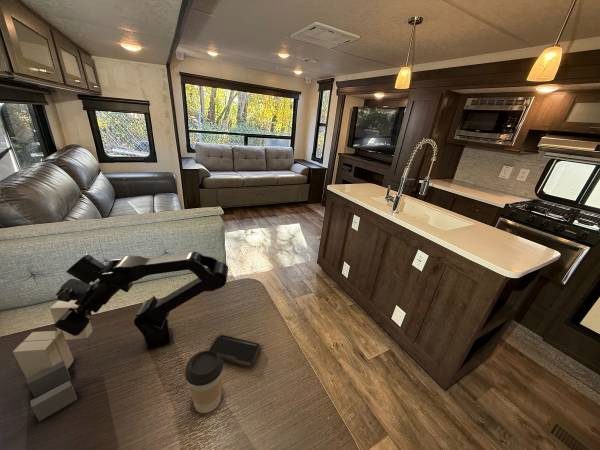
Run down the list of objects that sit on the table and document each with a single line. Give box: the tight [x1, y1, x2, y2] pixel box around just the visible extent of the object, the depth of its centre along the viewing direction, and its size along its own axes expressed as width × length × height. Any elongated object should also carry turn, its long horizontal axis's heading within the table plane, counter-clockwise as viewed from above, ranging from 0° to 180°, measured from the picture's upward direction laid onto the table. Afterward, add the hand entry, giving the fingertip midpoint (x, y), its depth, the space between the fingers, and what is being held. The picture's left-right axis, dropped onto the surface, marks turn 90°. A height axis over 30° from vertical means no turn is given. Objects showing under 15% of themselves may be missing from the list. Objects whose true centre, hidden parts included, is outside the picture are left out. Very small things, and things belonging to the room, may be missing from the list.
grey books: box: [26, 361, 78, 422], centre depth 63 cm, size 7×10×6 cm
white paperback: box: [49, 300, 94, 340], centre depth 74 cm, size 7×3×12 cm, turn 100°
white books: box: [12, 330, 74, 379], centre depth 67 cm, size 7×6×12 cm
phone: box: [209, 334, 261, 367], centre depth 80 cm, size 8×1×15 cm
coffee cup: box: [184, 349, 224, 414], centre depth 64 cm, size 9×9×15 cm
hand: (71, 320), depth 74 cm, fingers closed on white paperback, 3 cm apart
